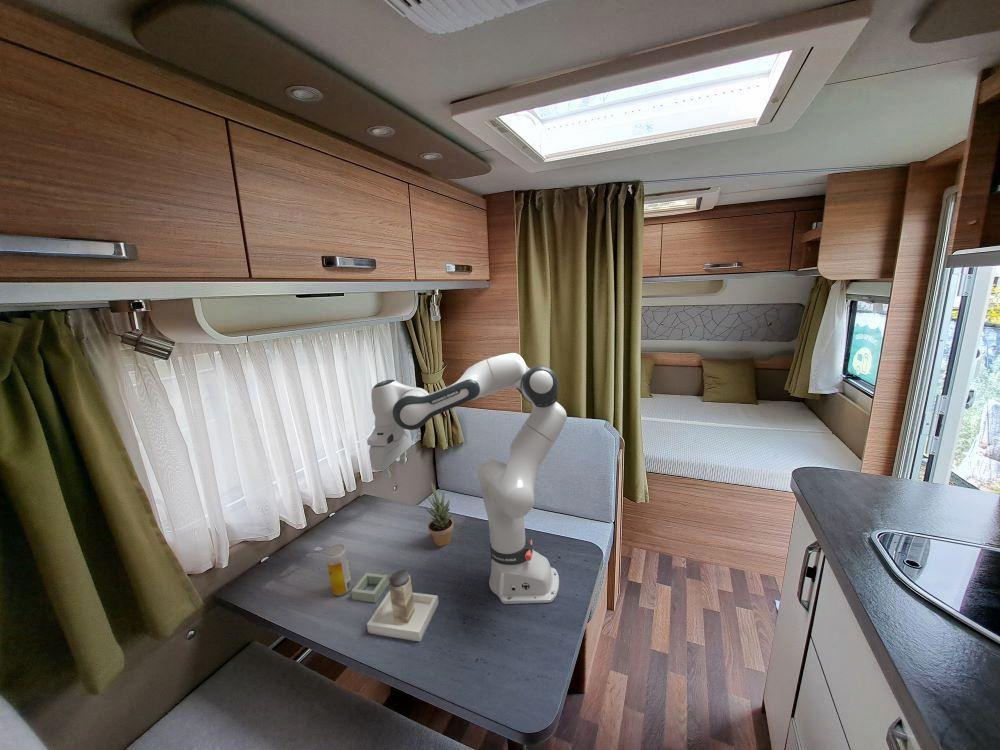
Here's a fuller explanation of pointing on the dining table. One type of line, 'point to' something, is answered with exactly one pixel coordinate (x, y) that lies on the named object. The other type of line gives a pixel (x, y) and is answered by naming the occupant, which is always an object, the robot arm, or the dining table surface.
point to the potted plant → (440, 520)
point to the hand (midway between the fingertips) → (395, 470)
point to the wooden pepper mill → (401, 596)
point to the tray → (412, 630)
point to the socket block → (368, 595)
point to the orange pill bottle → (338, 569)
